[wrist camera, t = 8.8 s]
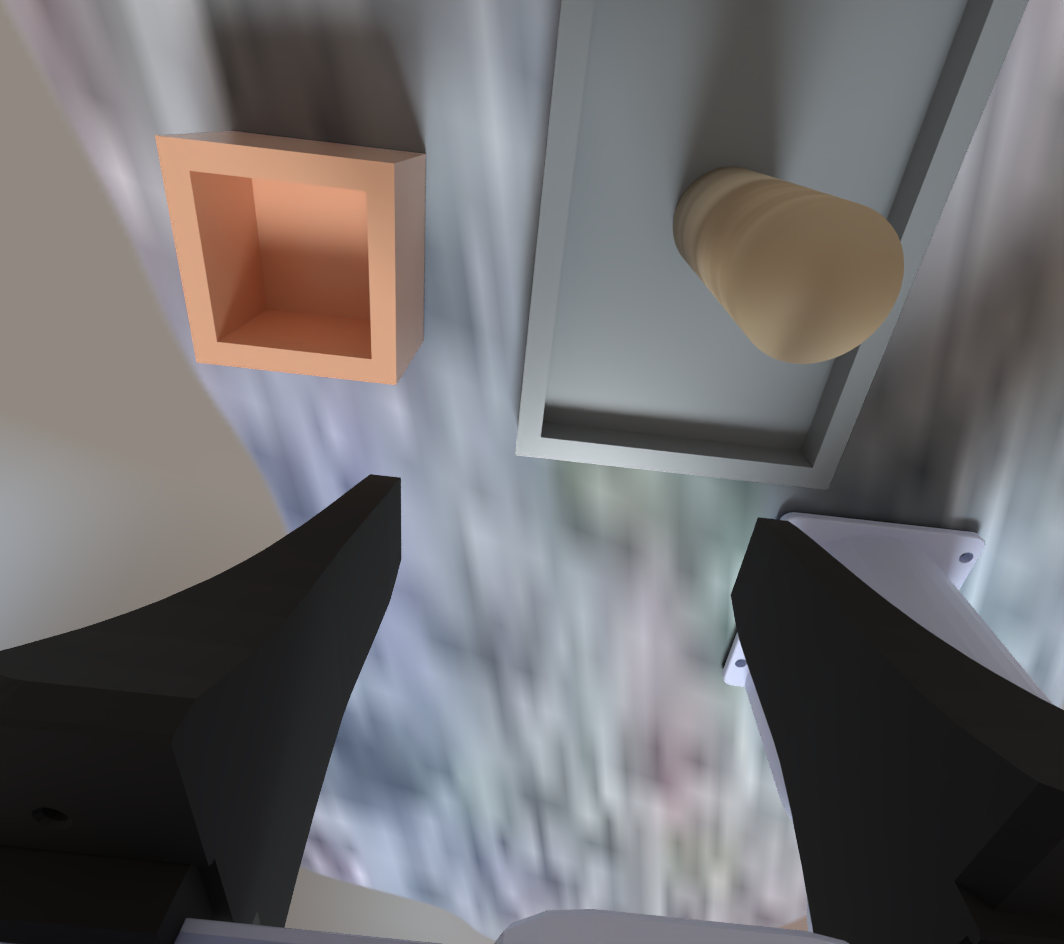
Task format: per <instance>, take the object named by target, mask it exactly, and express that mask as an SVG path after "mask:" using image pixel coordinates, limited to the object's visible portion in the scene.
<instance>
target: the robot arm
mask: <svg viewBox="0 0 1064 944" xmlns="http://www.w3.org/2000/svg"><path fill="white" fill-rule="evenodd" d="M984 547H985V541H984V540H983V539H982V538H981V537H980V536H979V535H978V534H977V533H974V532H968V531H959V530H950V529H941V528H932V527H923V526H914V525H905V524H896V523H887V522H878V521H869V520H860V519H851V518H842V517H833V516H824V515H815V514H806V513H797V512H791V513H788V514H785V515H784V516H782V517H781V518H780V520H776V519H767V518H758V519H757V522H756V525H755V528H754V531H753V533H752V536H751V539H750V542H749V545H748V548H747V550H746V553H745V556H744V559H743V562H742V565H741V568H740V570H739V573H738V576H737V579H736V582H735V585H734V587H733V590H732V593H731V599H732V605H733V611H734V617H735V622H736V627H737V634H736V637H735V639H734V642H733V645H732V647H731V650H730V653H729V655H728V658H727V661H726V663H725V666H724V669H723V671H722V675H723V679H724V681H725V683H727V684H729V685H734V686H743V687H745V689H746V692H747V695H748V698H749V701H750V704H751V708H752V711H753V714H754V717H755V720H756V724H757V727H758V730H759V733H760V736H761V740H762V743H763V746H764V749H765V752H766V755H767V759H768V762H769V765H770V768H771V771H772V775H773V778H774V781H775V784H776V787H777V791H778V794H779V797H780V799H781V802H782V804H783V806H784V809H785V810H786V812H787V814H788V816H789V817H790V819H791V821H792V822H793V824H794V829H795V834H796V839H797V844H798V849H799V854H800V859H801V864H802V869H803V875H804V881H805V887H806V893H807V923H808V931H809V932H808V931H800V930H791V929H781V928H772V927H762V926H752V925H742V924H733V923H723V922H713V921H703V920H694V919H684V918H674V917H664V916H655V915H645V914H635V913H625V912H615V911H606V910H596V909H583V910H550V911H545V912H542V913H539V914H536V915H534V916H531V917H528V918H525V919H522V920H520V921H517V922H514V923H512V924H511V925H510V926H509V927H508V928H507V929H505V930H504V931H503V933H502V934H501V935H500V937H499V938H498V939H497V941H496V942H495V944H1064V710H1062V709H1060V708H1058V707H1056V706H1054V705H1053V704H1052V703H1051V702H1050V701H1049V699H1048V698H1047V697H1046V696H1045V694H1044V693H1043V692H1042V691H1041V690H1040V688H1039V687H1038V686H1037V685H1036V684H1035V682H1034V681H1033V680H1032V679H1031V677H1030V676H1029V675H1028V674H1027V673H1026V671H1025V670H1024V669H1023V668H1022V667H1021V665H1020V664H1019V663H1018V662H1017V660H1016V659H1015V658H1014V657H1013V656H1012V654H1011V653H1010V652H1009V651H1008V650H1007V648H1006V647H1005V646H1004V645H1003V643H1002V642H1001V641H1000V640H999V639H998V637H997V636H996V635H995V634H994V633H993V631H992V630H991V629H990V628H989V626H988V625H987V624H986V623H985V622H984V620H983V619H982V618H981V617H980V616H979V614H978V613H977V612H976V611H975V609H974V608H973V607H972V606H971V605H970V603H969V602H968V601H967V600H966V599H965V597H964V596H963V595H962V594H961V592H960V591H959V589H960V588H961V586H962V584H963V583H964V581H965V579H966V577H967V576H968V574H969V572H970V571H971V569H972V567H973V566H974V564H975V562H976V561H977V559H978V557H979V556H980V554H981V552H982V551H983V549H984ZM964 553H966V554H965V555H963V556H961V555H962V554H964ZM960 556H961V557H960ZM400 562H401V478H398V477H389V476H380V475H371V474H370V475H369V476H368V477H366V478H365V479H363V480H362V481H361V482H359V483H358V484H357V485H355V486H354V487H353V488H352V489H350V490H349V491H348V492H346V493H345V494H344V495H342V496H341V497H340V498H338V499H337V500H336V501H335V502H333V503H332V504H331V505H329V506H328V507H327V508H325V509H324V510H323V511H321V512H320V513H318V514H317V515H316V516H314V517H313V518H312V519H310V520H309V521H307V522H306V523H305V524H303V525H302V526H300V527H299V528H297V529H295V530H294V531H292V532H291V533H289V534H288V535H286V536H285V537H283V538H282V539H280V540H279V541H277V542H276V543H274V544H273V545H271V546H270V547H268V548H266V549H265V550H263V551H261V552H259V553H258V554H256V555H254V556H252V557H251V558H249V559H247V560H246V561H243V562H242V563H240V564H238V565H236V566H234V567H232V568H230V569H228V570H226V571H224V572H223V573H221V574H219V575H216V576H214V577H212V578H210V579H208V580H206V581H204V582H201V583H199V584H197V585H194V586H192V587H190V588H188V589H185V590H183V591H181V592H179V593H176V594H174V595H172V596H170V597H167V598H165V599H163V600H160V601H158V602H155V603H152V604H150V605H147V606H145V607H142V608H139V609H137V610H134V611H131V612H129V613H126V614H123V615H120V616H117V617H114V618H111V619H108V620H105V621H102V622H100V623H96V624H93V625H90V626H87V627H85V628H81V629H78V630H74V631H70V632H67V633H63V634H60V635H57V636H53V637H49V638H46V639H43V640H39V641H35V642H32V643H28V644H25V645H21V646H18V647H14V648H10V649H6V650H2V651H0V944H439V943H430V942H420V941H409V940H400V939H390V938H379V937H370V936H360V935H351V934H341V933H331V932H321V931H311V930H301V929H290V928H284V927H285V922H286V919H287V915H288V911H289V906H290V903H291V899H292V895H293V891H294V886H295V883H296V879H297V875H298V871H299V868H300V864H301V860H302V857H303V853H304V849H305V845H306V842H307V838H308V834H309V831H310V827H311V823H312V819H313V816H314V812H315V809H316V805H317V802H318V798H319V795H320V791H321V788H322V784H323V781H324V777H325V774H326V770H327V767H328V763H329V760H330V757H331V754H332V750H333V747H334V744H335V740H336V737H337V734H338V730H339V727H340V724H341V721H342V717H343V714H344V712H345V709H346V706H347V704H348V701H349V698H350V695H351V693H352V691H353V688H354V686H355V683H356V681H357V679H358V676H359V674H360V672H361V669H362V667H363V664H364V662H365V660H366V657H367V655H368V653H369V650H370V648H371V645H372V643H373V641H374V638H375V636H376V634H377V631H378V629H379V626H380V624H381V622H382V619H383V617H384V614H385V612H386V609H387V607H388V604H389V602H390V599H391V595H392V592H393V588H394V584H395V581H396V577H397V573H398V569H399V565H400ZM739 659H742V660H740V661H737V660H739Z"/></svg>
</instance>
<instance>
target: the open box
mask: <svg viewBox="0 0 1064 944" xmlns="http://www.w3.org/2000/svg"><path fill="white" fill-rule="evenodd" d="M155 138H156V143H157V149H158V154H159V160H160V165H161V171H162V176H163V182H164V187H165V192H166V198H167V203H168V209H169V214H170V220H171V225H172V231H173V236H174V242H175V247H176V252H177V258H178V263H179V269H180V274H181V280H182V285H183V291H184V296H185V302H186V307H187V312H188V318H189V323H190V329H191V334H192V340H193V345H194V351H195V356H196V362H198V363H206V364H215V365H224V366H233V367H242V368H251V369H259V370H268V371H277V372H286V373H295V374H304V375H313V376H321V377H330V378H339V379H348V380H357V381H366V382H374V383H383V384H392V385H397V383H398V382H399V380H400V378H401V377H402V375H403V373H404V372H405V370H406V368H407V367H408V365H409V364H410V362H411V360H412V359H413V357H414V355H415V354H416V352H417V351H418V349H419V347H420V346H421V344H422V342H423V339H424V265H425V190H426V154H424V153H415V152H407V151H398V150H390V149H381V148H373V147H365V146H356V145H348V144H339V143H331V142H322V141H314V140H305V139H297V138H288V137H280V136H271V135H263V134H254V133H246V132H237V131H221V132H204V133H187V134H170V135H155Z"/></svg>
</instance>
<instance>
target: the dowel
mask: <svg viewBox="0 0 1064 944" xmlns="http://www.w3.org/2000/svg"><path fill="white" fill-rule="evenodd" d="M673 237H674V241H675V245H676V247H677V250H678V251H679V253H680V255H681V256H682V257H683V259H684V260H685V261H686V262H687V264H688V265H689V266H690V267H691V268H692V270H693V271H694V272H695V273H696V275H697V276H698V277H699V278H700V279H701V281H702V282H703V283H704V284H705V286H706V287H707V288H708V289H709V290H710V292H711V293H712V294H713V295H714V297H715V298H716V299H717V300H718V302H719V303H720V304H721V305H722V306H723V308H724V309H725V310H726V311H727V313H728V314H729V315H730V316H731V317H732V319H733V320H734V321H735V322H736V324H737V325H738V326H739V327H740V328H741V330H742V331H743V332H744V333H745V335H746V336H747V337H748V338H749V339H750V341H751V342H752V343H753V344H754V345H755V346H756V347H757V348H758V349H759V350H761V351H762V352H764V353H765V354H766V355H768V356H770V357H772V358H774V359H777V360H780V361H783V362H788V363H794V364H810V363H818V362H823V361H827V360H830V359H833V358H836V357H838V356H840V355H843V354H845V353H847V352H848V351H850V350H852V349H854V348H855V347H857V346H858V345H860V344H861V343H863V342H864V341H865V340H866V339H867V338H868V337H870V336H871V335H872V334H873V333H874V332H875V331H876V330H877V329H878V328H879V327H880V325H881V324H882V323H883V322H884V320H885V319H886V318H887V316H888V315H889V313H890V311H891V310H892V308H893V306H894V304H895V302H896V300H897V298H898V295H899V292H900V289H901V286H902V281H903V276H904V254H903V250H902V245H901V242H900V240H899V237H898V235H897V233H896V232H895V230H894V228H893V227H892V225H891V224H890V223H889V222H888V221H887V220H886V219H885V218H884V217H883V216H882V215H880V214H879V213H878V212H876V211H875V210H873V209H871V208H869V207H867V206H864V205H861V204H858V203H855V202H852V201H849V200H846V199H842V198H839V197H836V196H833V195H829V194H826V193H823V192H820V191H817V190H813V189H810V188H807V187H804V186H800V185H797V184H794V183H791V182H787V181H784V180H781V179H778V178H775V177H771V176H768V175H765V174H762V173H758V172H755V171H752V170H749V169H746V168H741V167H734V166H728V167H721V168H717V169H714V170H711V171H709V172H707V173H705V174H703V175H702V176H700V177H699V178H698V179H696V180H695V181H694V182H693V183H692V184H691V185H690V186H689V187H688V188H687V189H686V191H685V192H684V194H683V195H682V197H681V199H680V200H679V202H678V205H677V207H676V210H675V214H674V219H673Z"/></svg>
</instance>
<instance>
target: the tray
mask: <svg viewBox="0 0 1064 944" xmlns="http://www.w3.org/2000/svg"><path fill="white" fill-rule="evenodd" d="M1028 1H1029V0H561V10H560V20H559V30H558V39H557V49H556V59H555V69H554V79H553V89H552V99H551V108H550V118H549V128H548V138H547V148H546V158H545V167H544V177H543V187H542V197H541V207H540V217H539V227H538V236H537V246H536V256H535V266H534V276H533V286H532V295H531V305H530V315H529V325H528V335H527V345H526V354H525V364H524V374H523V384H522V394H521V404H520V414H519V423H518V433H517V443H516V453H515V455H518V456H527V457H536V458H545V459H554V460H563V461H572V462H581V463H590V464H599V465H608V466H617V467H626V468H635V469H644V470H652V471H661V472H670V473H679V474H688V475H697V476H706V477H715V478H724V479H733V480H742V481H751V482H760V483H769V484H778V485H787V486H796V487H804V488H813V489H822V490H828V488H829V486H830V483H831V481H832V479H833V476H834V474H835V471H836V469H837V466H838V464H839V461H840V459H841V457H842V454H843V452H844V449H845V447H846V444H847V442H848V440H849V437H850V435H851V432H852V430H853V427H854V425H855V422H856V420H857V418H858V415H859V413H860V410H861V408H862V405H863V403H864V401H865V398H866V396H867V393H868V391H869V388H870V386H871V383H872V381H873V379H874V376H875V374H876V371H877V369H878V366H879V364H880V362H881V359H882V357H883V354H884V352H885V349H886V347H887V344H888V342H889V340H890V337H891V335H892V332H893V330H894V327H895V325H896V323H897V320H898V318H899V315H900V313H901V310H902V308H903V305H904V303H905V301H906V298H907V296H908V293H909V291H910V288H911V286H912V284H913V281H914V279H915V276H916V274H917V271H918V269H919V266H920V264H921V262H922V259H923V257H924V254H925V252H926V249H927V247H928V245H929V242H930V240H931V237H932V235H933V232H934V230H935V227H936V225H937V223H938V220H939V218H940V215H941V213H942V210H943V208H944V206H945V203H946V201H947V198H948V196H949V193H950V191H951V188H952V186H953V184H954V181H955V179H956V176H957V174H958V171H959V169H960V167H961V164H962V162H963V159H964V157H965V154H966V152H967V149H968V147H969V145H970V142H971V140H972V137H973V135H974V132H975V130H976V128H977V125H978V123H979V120H980V118H981V115H982V113H983V110H984V108H985V106H986V103H987V101H988V98H989V96H990V93H991V91H992V89H993V86H994V84H995V81H996V79H997V76H998V74H999V71H1000V69H1001V67H1002V64H1003V62H1004V59H1005V57H1006V54H1007V52H1008V50H1009V47H1010V45H1011V42H1012V40H1013V37H1014V35H1015V32H1016V30H1017V28H1018V25H1019V23H1020V20H1021V18H1022V15H1023V13H1024V11H1025V8H1026V6H1027V3H1028ZM728 166H734V167H741V168H746V169H749V170H752V171H755V172H758V173H762V174H765V175H768V176H771V177H775V178H778V179H781V180H784V181H787V182H791V183H794V184H797V185H800V186H804V187H807V188H810V189H813V190H817V191H820V192H823V193H826V194H829V195H833V196H836V197H839V198H842V199H846V200H849V201H852V202H855V203H858V204H861V205H864V206H867V207H869V208H871V209H873V210H875V211H876V212H878V213H879V214H880V215H882V216H883V217H884V218H885V219H886V220H887V221H888V222H889V223H890V224H891V225H892V227H893V228H894V230H895V232H896V233H897V235H898V237H899V240H900V242H901V245H902V250H903V254H904V276H903V281H902V286H901V289H900V292H899V295H898V298H897V300H896V302H895V304H894V306H893V308H892V310H891V311H890V313H889V315H888V316H887V318H886V319H885V320H884V322H883V323H882V324H881V325H880V327H879V328H878V329H877V330H876V331H875V332H874V333H873V334H872V335H871V336H870V337H868V338H867V339H866V340H865V341H864V342H863V343H861V344H860V345H858V346H857V347H855V348H854V349H852V350H850V351H848V352H847V353H845V354H843V355H840V356H838V357H836V358H833V359H830V360H827V361H823V362H818V363H810V364H794V363H788V362H783V361H780V360H777V359H774V358H772V357H770V356H768V355H766V354H765V353H764V352H762V351H761V350H759V349H758V348H757V347H756V346H755V345H754V344H753V343H752V342H751V341H750V339H749V338H748V337H747V336H746V335H745V333H744V332H743V331H742V330H741V328H740V327H739V326H738V325H737V324H736V322H735V321H734V320H733V319H732V317H731V316H730V315H729V314H728V313H727V311H726V310H725V309H724V308H723V306H722V305H721V304H720V303H719V302H718V300H717V299H716V298H715V297H714V295H713V294H712V293H711V292H710V290H709V289H708V288H707V287H706V286H705V284H704V283H703V282H702V281H701V279H700V278H699V277H698V276H697V275H696V273H695V272H694V271H693V270H692V268H691V267H690V266H689V265H688V264H687V262H686V261H685V260H684V259H683V257H682V256H681V255H680V253H679V251H678V250H677V247H676V245H675V241H674V237H673V219H674V214H675V210H676V207H677V205H678V202H679V200H680V199H681V197H682V195H683V194H684V192H685V191H686V189H687V188H688V187H689V186H690V185H691V184H692V183H693V182H694V181H695V180H696V179H698V178H699V177H700V176H702V175H703V174H705V173H707V172H709V171H711V170H714V169H717V168H721V167H728Z"/></svg>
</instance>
